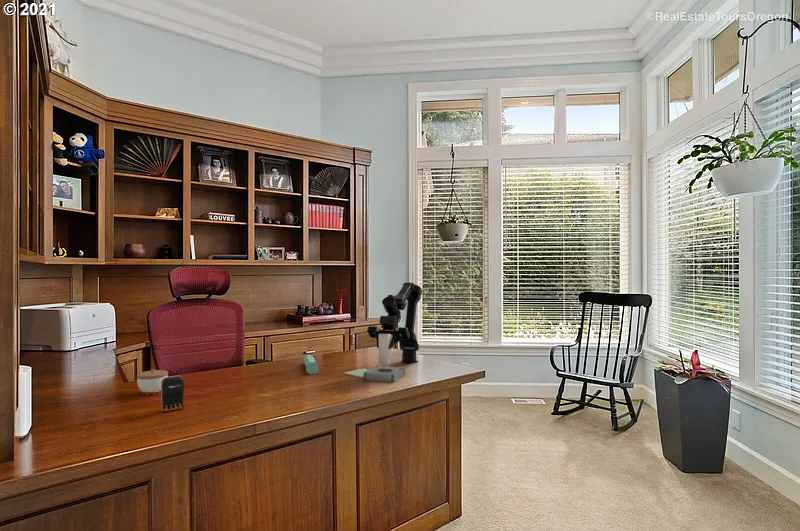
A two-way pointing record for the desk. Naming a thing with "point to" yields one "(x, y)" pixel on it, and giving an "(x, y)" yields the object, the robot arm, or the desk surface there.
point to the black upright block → (172, 392)
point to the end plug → (384, 349)
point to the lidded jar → (151, 380)
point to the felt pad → (357, 372)
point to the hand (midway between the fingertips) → (383, 348)
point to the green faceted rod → (311, 364)
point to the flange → (384, 374)
